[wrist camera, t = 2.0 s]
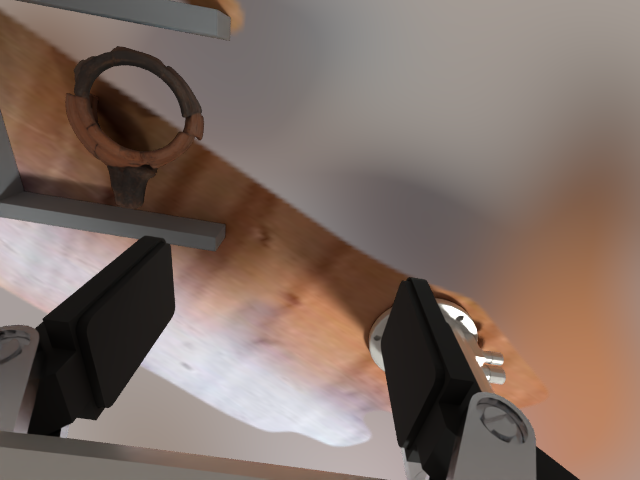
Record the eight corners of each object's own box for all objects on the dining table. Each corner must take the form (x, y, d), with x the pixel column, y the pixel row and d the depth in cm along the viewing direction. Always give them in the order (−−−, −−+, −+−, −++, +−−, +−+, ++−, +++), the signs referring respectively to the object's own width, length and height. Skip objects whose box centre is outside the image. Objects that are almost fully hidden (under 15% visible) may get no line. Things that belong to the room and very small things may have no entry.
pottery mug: (76, 56, 25) (42, 16, 18) (198, 80, 30) (209, 55, 23) (88, 201, 28) (62, 216, 21) (199, 204, 32) (209, 217, 25)
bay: (230, 17, 23) (212, 6, 20) (225, 237, 32) (211, 256, 29) (-65, -40, 22) (-140, -62, 19) (12, 202, 31) (-29, 218, 28)
